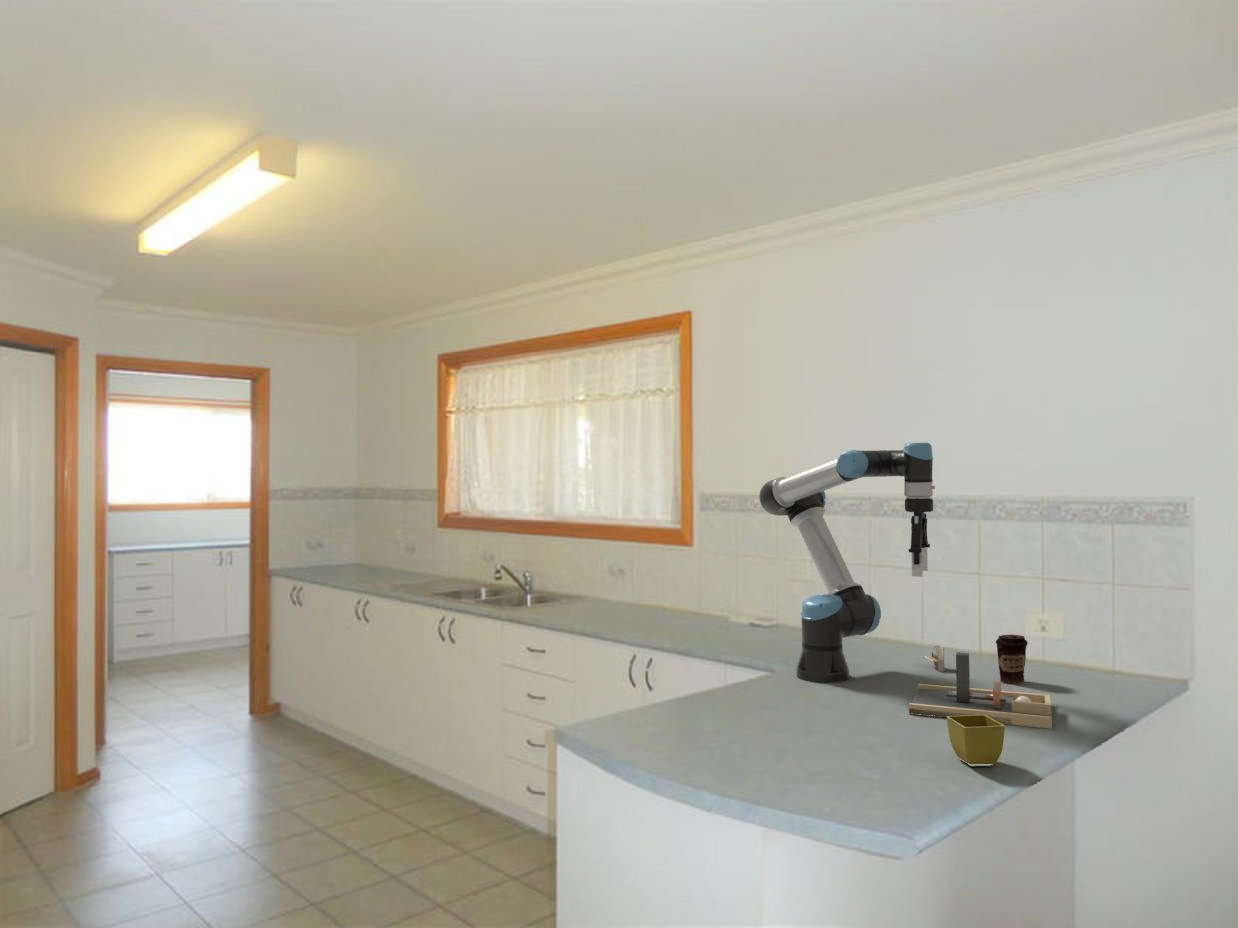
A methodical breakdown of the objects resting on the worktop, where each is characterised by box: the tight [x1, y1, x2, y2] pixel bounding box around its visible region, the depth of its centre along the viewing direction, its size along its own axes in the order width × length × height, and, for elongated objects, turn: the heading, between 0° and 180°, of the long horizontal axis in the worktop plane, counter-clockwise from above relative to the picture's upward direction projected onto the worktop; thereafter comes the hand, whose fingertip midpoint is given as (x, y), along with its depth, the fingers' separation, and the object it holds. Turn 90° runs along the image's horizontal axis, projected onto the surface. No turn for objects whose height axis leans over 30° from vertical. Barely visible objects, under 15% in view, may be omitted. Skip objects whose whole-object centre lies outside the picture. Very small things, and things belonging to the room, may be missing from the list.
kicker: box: [946, 651, 1006, 709], centre depth 223 cm, size 14×9×12 cm, turn 65°
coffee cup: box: [995, 634, 1029, 684], centre depth 250 cm, size 9×8×13 cm
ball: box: [1015, 696, 1032, 702], centre depth 218 cm, size 4×4×4 cm
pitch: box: [908, 683, 1053, 730], centre depth 223 cm, size 32×22×4 cm
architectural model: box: [924, 643, 945, 672], centre depth 267 cm, size 3×7×7 cm, turn 1°
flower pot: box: [946, 715, 1006, 765], centre depth 183 cm, size 9×9×9 cm
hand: (919, 573), depth 246 cm, fingers open, 13 cm apart
